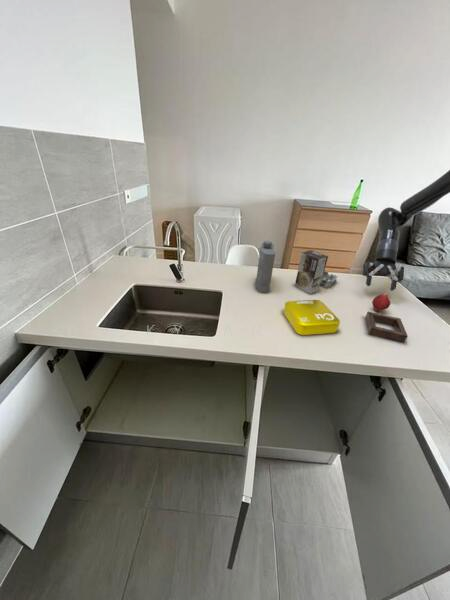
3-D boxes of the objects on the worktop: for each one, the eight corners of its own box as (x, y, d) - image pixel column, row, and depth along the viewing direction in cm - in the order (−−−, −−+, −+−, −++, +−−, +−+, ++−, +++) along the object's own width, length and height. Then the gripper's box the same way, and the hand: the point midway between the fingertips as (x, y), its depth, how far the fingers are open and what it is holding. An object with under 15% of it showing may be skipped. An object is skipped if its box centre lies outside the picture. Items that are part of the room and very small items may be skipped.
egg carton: (322, 276, 121) (324, 269, 118) (337, 281, 116) (339, 274, 114) (313, 283, 114) (315, 275, 111) (328, 289, 109) (331, 280, 107)
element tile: (317, 308, 95) (320, 298, 92) (339, 332, 82) (343, 321, 80) (281, 310, 92) (283, 300, 90) (298, 336, 80) (301, 324, 77)
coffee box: (319, 290, 108) (329, 256, 99) (309, 294, 104) (319, 259, 96) (303, 282, 114) (311, 249, 106) (293, 285, 111) (301, 251, 102)
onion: (370, 312, 94) (378, 295, 90) (368, 305, 99) (375, 288, 95) (387, 316, 93) (395, 298, 88) (384, 308, 97) (392, 291, 93)
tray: (397, 325, 88) (400, 318, 86) (403, 343, 79) (407, 336, 78) (365, 317, 91) (367, 311, 89) (368, 334, 82) (371, 327, 81)
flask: (255, 277, 116) (261, 235, 106) (268, 278, 116) (274, 237, 105) (255, 292, 104) (261, 247, 93) (269, 293, 103) (276, 248, 93)
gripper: (370, 245, 100) (364, 281, 97) (410, 251, 96) (404, 288, 93) (365, 253, 107) (358, 287, 104) (401, 259, 104) (395, 294, 100)
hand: (380, 287), depth 99 cm, fingers open, 8 cm apart
